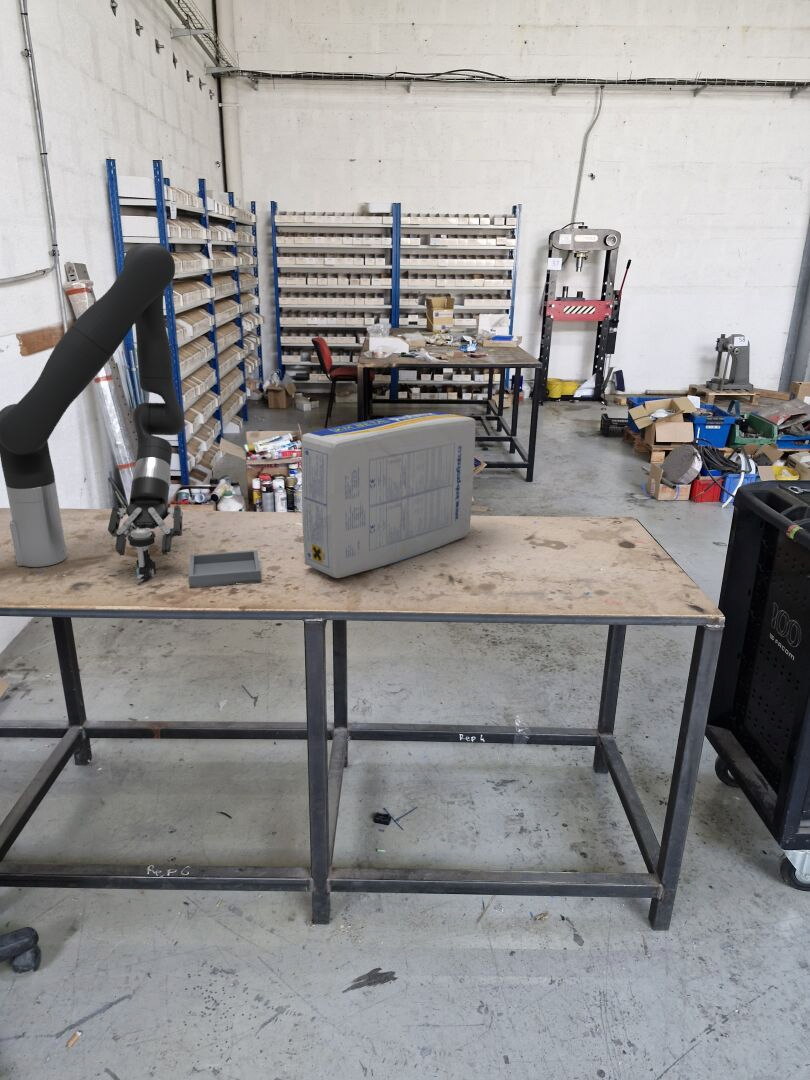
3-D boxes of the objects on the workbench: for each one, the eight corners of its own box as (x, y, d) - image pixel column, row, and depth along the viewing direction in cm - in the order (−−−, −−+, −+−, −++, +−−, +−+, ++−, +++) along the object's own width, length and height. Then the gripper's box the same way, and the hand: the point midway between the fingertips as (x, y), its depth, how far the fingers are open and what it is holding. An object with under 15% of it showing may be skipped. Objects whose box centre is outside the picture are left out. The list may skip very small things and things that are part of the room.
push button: (151, 585, 142) (146, 538, 139) (125, 584, 143) (119, 537, 139) (163, 572, 149) (158, 527, 145) (138, 571, 149) (133, 526, 145)
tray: (189, 588, 141) (188, 576, 140) (191, 565, 152) (190, 554, 151) (261, 582, 145) (260, 570, 144) (257, 560, 156) (257, 550, 155)
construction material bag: (437, 526, 180) (441, 407, 169) (472, 538, 172) (478, 414, 162) (300, 569, 151) (296, 430, 141) (335, 585, 144) (332, 439, 133)
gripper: (110, 475, 146) (100, 546, 140) (181, 474, 148) (174, 545, 141) (121, 492, 153) (112, 561, 146) (189, 492, 154) (182, 560, 148)
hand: (142, 553), depth 144 cm, fingers open, 8 cm apart
